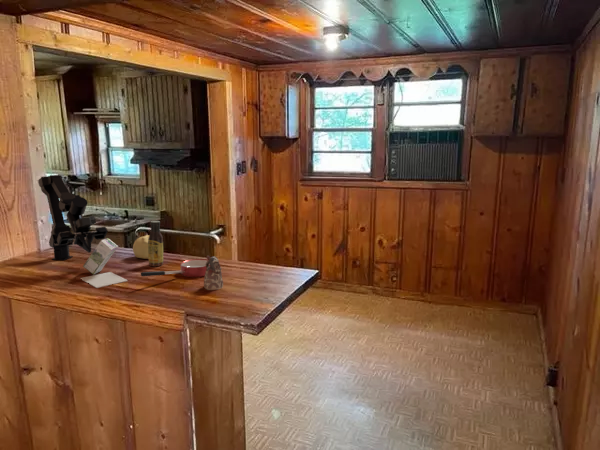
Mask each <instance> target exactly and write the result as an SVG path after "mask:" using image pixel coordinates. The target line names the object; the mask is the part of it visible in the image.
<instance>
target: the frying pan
mask: <svg viewBox="0 0 600 450" xmlns="http://www.w3.org/2000/svg"><path fill="white" fill-rule="evenodd" d="M207 261H208V259H207V258H206V259H205V258H194V259H187V260H185V261H182V262H180V270H169V271H168V270H167V271H166V270H159V271H142V272H140V276H141V277H153V276H164V275H170V274H171V275H172V274H173V275H174V274H181V275H182V276H184V277H187V278H202V277H203V278H204V277H205V272H206V270H207V268H206V262H207ZM209 266H210V264H209Z"/></svg>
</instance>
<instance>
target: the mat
mask: <svg viewBox="0 0 600 450" xmlns="http://www.w3.org/2000/svg"><path fill="white" fill-rule="evenodd" d="M81 279H82V281H83V282H85V283H87V284H88V283H89V284H88V285H90V286H92V287H94V288H96V289H99V288H103V287H107V286H111V285H112V284H113V285H116V284H120V283H126V282H129V280H128V279H126V278H123V277H122V276H120V275H118V274H116V273H113V272H112V271H108V272H104V273H97V274H94V275H93V274H92V275H89V276H85V277H80V280H81Z"/></svg>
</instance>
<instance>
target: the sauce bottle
mask: <svg viewBox="0 0 600 450" xmlns="http://www.w3.org/2000/svg"><path fill="white" fill-rule="evenodd" d="M160 226H161V221H160V220H151V221H150V233H149V239H148V257H149V259H148V264H149V266H150V267H160V266H163V264H164V241H163V240H164V239H163V238H164V237H163V234H162V233H161V227H160Z"/></svg>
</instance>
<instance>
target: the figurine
mask: <svg viewBox="0 0 600 450" xmlns="http://www.w3.org/2000/svg"><path fill="white" fill-rule="evenodd" d="M206 260H208V261H207V262H206V268H207V270H206V272H205V276H204V277H203V278H204V280H203V287H204V289H205V290H207V291H214V290H218V291H219V290H221V289H223V287H224V280H223V276H222V267H221V265H220V262H219V261H220V260H219V259H218V257H216V256H210V255H207V256H206ZM209 264H210V266H209Z"/></svg>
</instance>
